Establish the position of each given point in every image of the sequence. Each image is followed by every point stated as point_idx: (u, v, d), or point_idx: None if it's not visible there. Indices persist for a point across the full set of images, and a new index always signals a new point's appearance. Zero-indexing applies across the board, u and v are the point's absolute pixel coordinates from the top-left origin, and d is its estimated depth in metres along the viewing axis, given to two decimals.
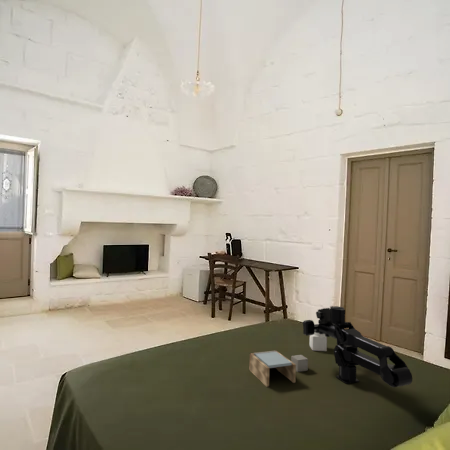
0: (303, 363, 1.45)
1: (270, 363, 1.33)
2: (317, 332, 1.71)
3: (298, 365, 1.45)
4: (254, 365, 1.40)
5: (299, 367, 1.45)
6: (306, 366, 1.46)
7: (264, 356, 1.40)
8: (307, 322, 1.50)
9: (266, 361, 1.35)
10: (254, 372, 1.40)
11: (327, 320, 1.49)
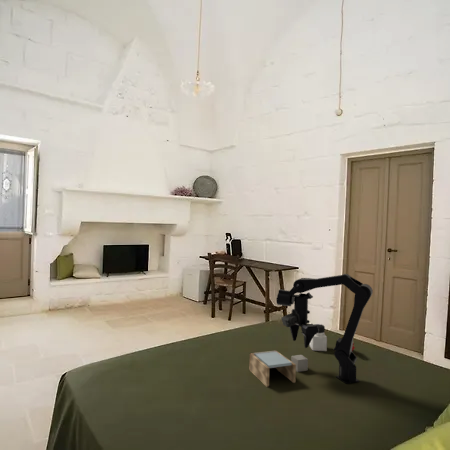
0: (303, 363, 1.45)
1: (270, 363, 1.33)
2: None
3: (298, 365, 1.45)
4: (254, 365, 1.40)
5: (299, 367, 1.45)
6: (306, 366, 1.46)
7: (264, 356, 1.40)
8: (306, 328, 1.39)
9: (266, 361, 1.35)
10: (254, 372, 1.40)
11: (294, 314, 1.46)
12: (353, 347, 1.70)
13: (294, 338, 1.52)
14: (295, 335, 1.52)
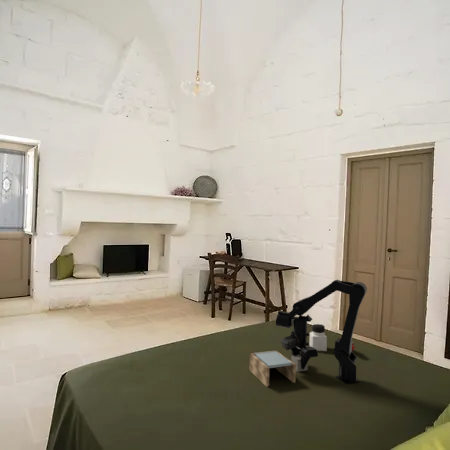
0: None
1: (270, 363, 1.33)
2: (317, 332, 1.71)
3: (298, 365, 1.45)
4: (254, 365, 1.40)
5: (299, 367, 1.45)
6: (306, 366, 1.46)
7: (264, 356, 1.40)
8: (305, 351, 1.39)
9: (266, 361, 1.35)
10: (254, 372, 1.40)
11: (293, 337, 1.46)
12: (353, 347, 1.70)
13: None
14: None
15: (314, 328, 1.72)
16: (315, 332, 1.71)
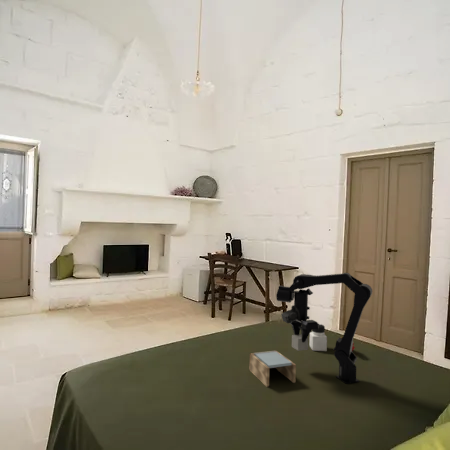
0: (304, 342, 1.45)
1: (270, 363, 1.33)
2: (317, 332, 1.71)
3: (299, 344, 1.45)
4: (254, 365, 1.40)
5: (300, 346, 1.45)
6: (307, 345, 1.46)
7: (264, 356, 1.40)
8: (306, 324, 1.39)
9: (266, 361, 1.35)
10: (254, 372, 1.40)
11: (294, 310, 1.46)
12: (353, 347, 1.70)
13: None
14: (297, 333, 1.50)
15: None
16: (315, 332, 1.71)
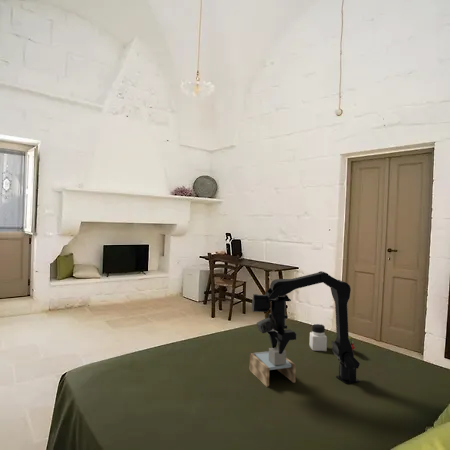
0: (281, 355, 1.34)
1: (270, 365, 1.33)
2: (317, 332, 1.71)
3: (275, 358, 1.33)
4: (254, 365, 1.40)
5: (277, 360, 1.33)
6: (284, 359, 1.34)
7: (264, 357, 1.40)
8: (282, 334, 1.27)
9: (266, 362, 1.35)
10: (254, 372, 1.40)
11: (270, 319, 1.34)
12: (353, 347, 1.70)
13: (274, 346, 1.38)
14: (275, 343, 1.38)
15: (314, 328, 1.72)
16: (315, 332, 1.71)
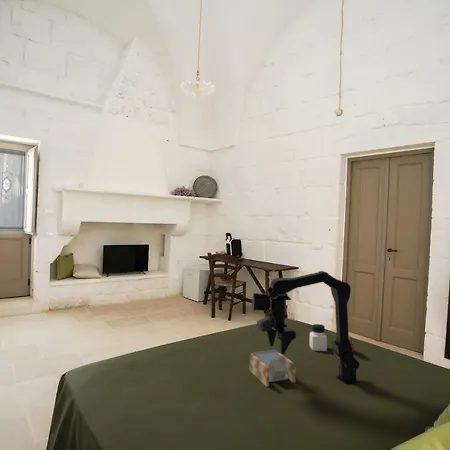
0: (281, 373, 1.33)
1: None
2: (317, 332, 1.71)
3: (275, 374, 1.33)
4: (254, 365, 1.40)
5: (276, 376, 1.34)
6: (283, 375, 1.35)
7: (264, 360, 1.41)
8: (282, 333, 1.27)
9: None
10: (254, 372, 1.40)
11: (270, 318, 1.34)
12: (353, 347, 1.70)
13: (271, 343, 1.40)
14: (272, 340, 1.40)
15: (314, 328, 1.72)
16: (315, 332, 1.71)
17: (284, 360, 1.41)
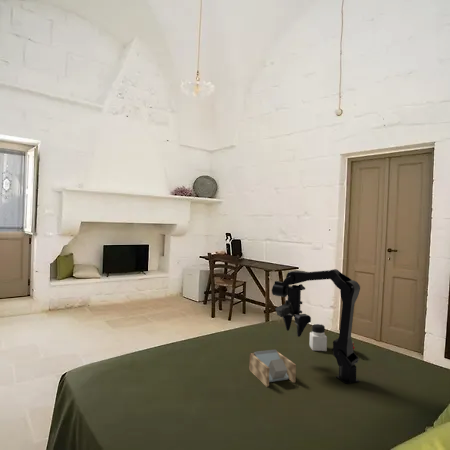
0: (281, 373, 1.33)
1: None
2: (317, 332, 1.71)
3: (275, 374, 1.33)
4: (254, 365, 1.40)
5: (276, 376, 1.34)
6: (283, 375, 1.35)
7: (264, 360, 1.41)
8: (299, 317, 1.45)
9: None
10: (254, 372, 1.40)
11: (287, 305, 1.53)
12: (353, 347, 1.70)
13: (287, 328, 1.58)
14: (288, 325, 1.59)
15: (314, 328, 1.72)
16: (315, 332, 1.71)
17: (284, 360, 1.41)
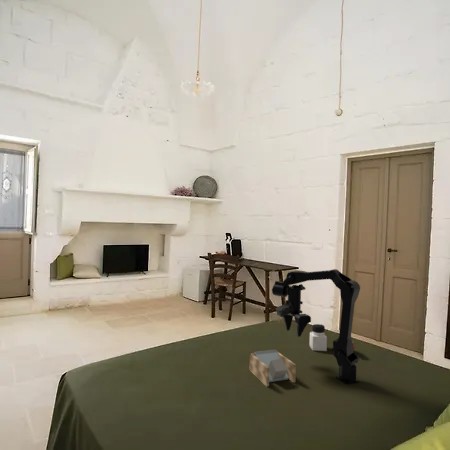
0: (281, 373, 1.33)
1: None
2: (317, 332, 1.71)
3: (275, 374, 1.33)
4: (254, 365, 1.40)
5: (276, 376, 1.34)
6: (283, 375, 1.35)
7: (264, 360, 1.41)
8: (299, 317, 1.46)
9: None
10: (254, 372, 1.40)
11: (287, 305, 1.53)
12: (353, 347, 1.70)
13: (288, 328, 1.59)
14: (289, 325, 1.59)
15: (314, 328, 1.72)
16: (315, 332, 1.71)
17: (284, 360, 1.41)
